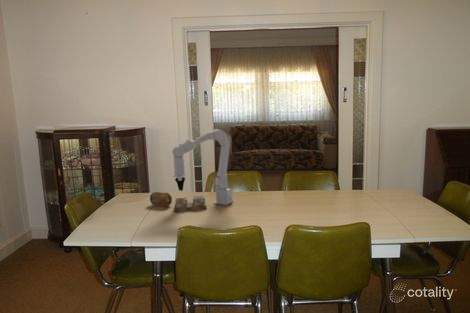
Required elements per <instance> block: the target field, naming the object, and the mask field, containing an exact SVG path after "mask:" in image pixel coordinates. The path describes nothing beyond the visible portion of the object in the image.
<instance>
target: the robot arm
mask: <svg viewBox="0 0 470 313" xmlns="http://www.w3.org/2000/svg"><path fill="white" fill-rule="evenodd" d="M208 140H211V141H212V140H213V141H214V140H215V141H217V142H218V144H219V145H220V151H219V152H220V153H219V162H218V170H217V173H216V177H215V178H214V184H215V185H216V186H215V197H216V199H215V201H214V202H213V204H217V205H225V206H226V205H227V206H228V205H229V204H232V203H233V202H234V200H233V198H234V197H233V190H232V189H231V188H228V186H229V180H228V173H227V172H228V163H229V156H230V155H229V154H230V147H231V143H230V140H229V138H228V136H227V133H226V132H225V131H224V130H222V129H218V128H214V129H212V130H209V131H207V132H206V133H204V134H203V135H202V134H201V135H200V136H199V137H197V138H196V139H193V140H192V139H185V142H183V143H181V144H178V145H177V146H174V147H173V148H172V150H171V151H172V152H171V153H172V154H173V166H174V168H173V169H174V174H173V175H172V177H173V178H175V179H174V180H175V182H176V184H177V188H178V191H184V183H185V181H186V174H185V172H186V171H185V161H184V160H185V159H184V154H187V153H189V152H192V151H193V150H195V149H196V146H197V145H200V144H202V143H204V142H206V141H208Z"/></svg>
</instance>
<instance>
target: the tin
mask: <svg viewBox="0 0 470 313" xmlns="http://www.w3.org/2000/svg"><path fill="white" fill-rule="evenodd" d="M149 200H150V203H151V205H152V206H155V207H164V208H166V207H169V206H170V205H172V202H173V198H172V195H171V194H170V193H169V192H166V191H165V192H164V191H163V192H162V191H153V192H151V194H150V196H149Z"/></svg>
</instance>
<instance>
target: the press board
mask: <svg viewBox="0 0 470 313" xmlns="http://www.w3.org/2000/svg"><path fill="white" fill-rule="evenodd" d="M195 196H196V195H192V201H191V202H188V197H187V196H185V199H184V200H178V197H175V203H174V213H176V212H177V213H179V212H188V211H189V212H190V211H199V210H207V209H208V208H207V206H208V205H207V202H206V197H205V195H201V196H202V198H196V199H195Z"/></svg>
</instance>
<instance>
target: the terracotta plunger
mask: <svg viewBox="0 0 470 313" xmlns="http://www.w3.org/2000/svg"><path fill="white" fill-rule="evenodd" d="M185 197H186V196H184V195H183V196H177V198H178V200H184V199H185Z"/></svg>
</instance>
